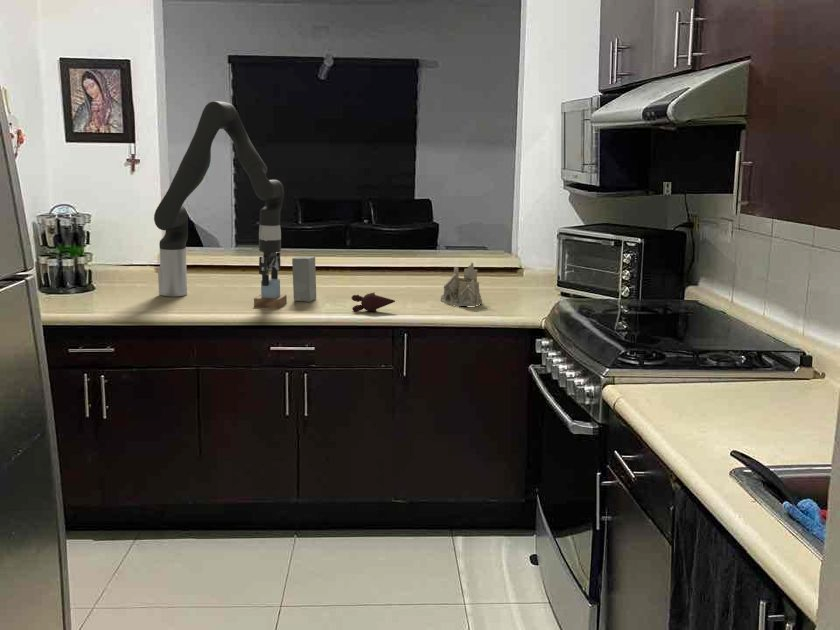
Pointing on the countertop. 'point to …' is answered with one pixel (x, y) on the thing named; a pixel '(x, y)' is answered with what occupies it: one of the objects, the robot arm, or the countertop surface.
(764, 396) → the countertop surface
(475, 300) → the ceramic cottage
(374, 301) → the icecream
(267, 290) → the blue block
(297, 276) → the skincare box
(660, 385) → the countertop surface
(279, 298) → the walnut base
